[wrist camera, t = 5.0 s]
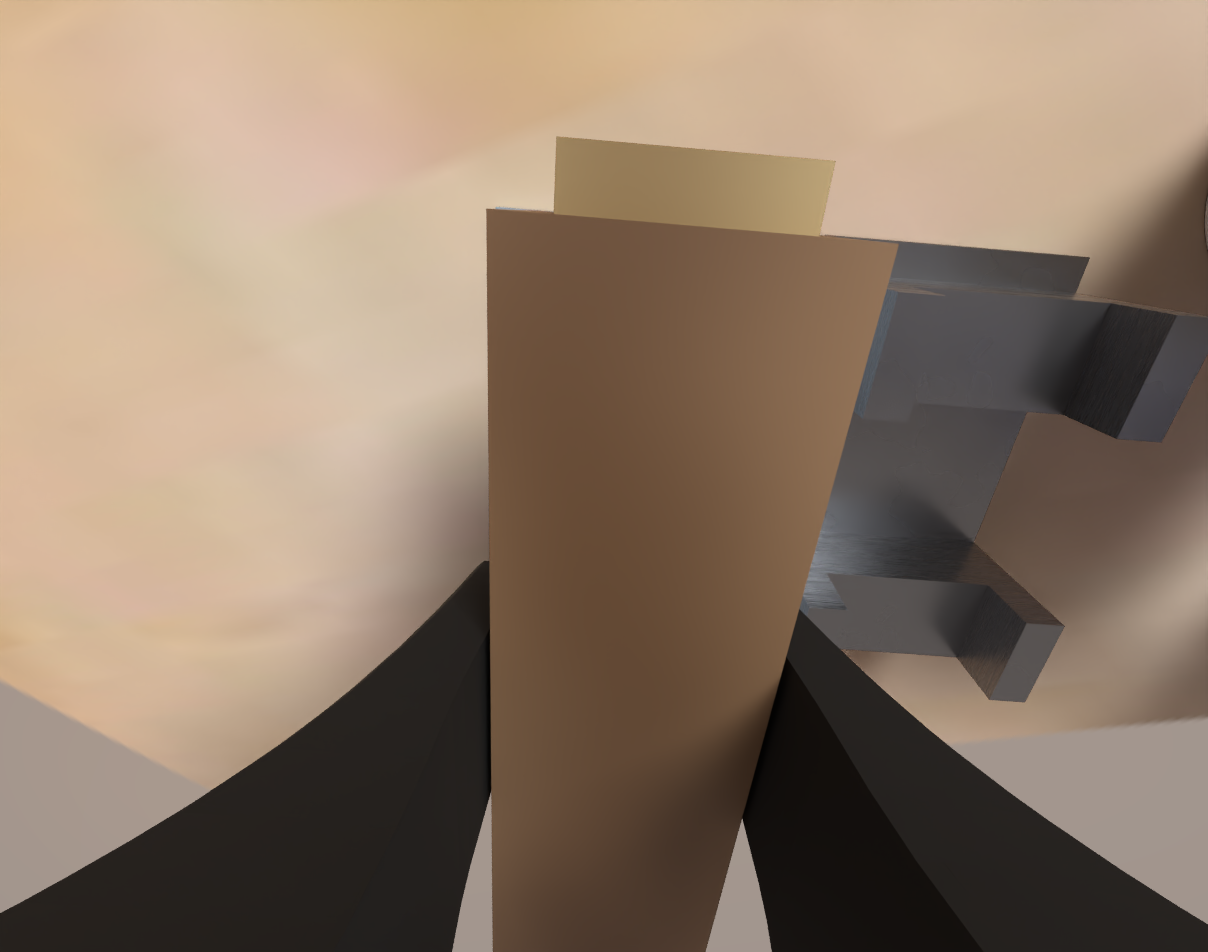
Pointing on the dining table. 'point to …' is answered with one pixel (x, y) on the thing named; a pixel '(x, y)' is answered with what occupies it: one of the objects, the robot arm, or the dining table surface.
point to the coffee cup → (1206, 222)
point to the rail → (653, 518)
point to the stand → (976, 446)
